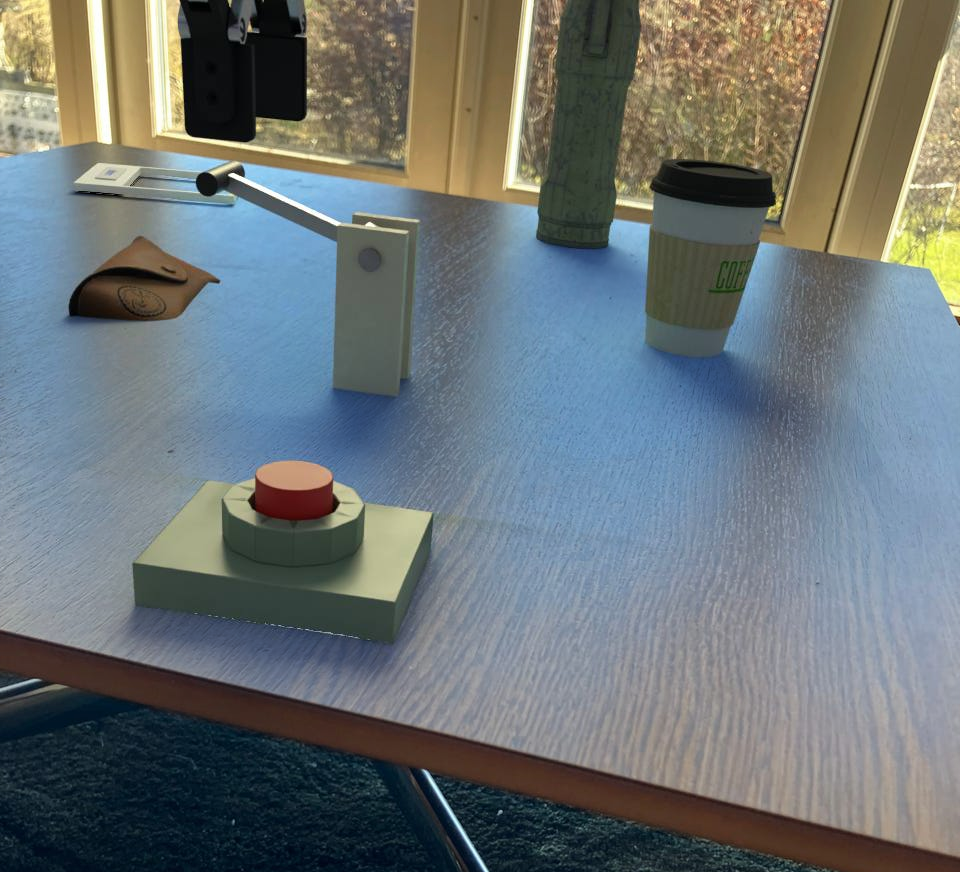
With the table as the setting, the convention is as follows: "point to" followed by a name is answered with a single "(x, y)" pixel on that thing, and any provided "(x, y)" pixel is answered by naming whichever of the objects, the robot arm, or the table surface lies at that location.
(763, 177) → the coffee cup
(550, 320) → the table surface
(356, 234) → the bracket
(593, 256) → the table surface
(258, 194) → the lever
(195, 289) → the sunglasses case
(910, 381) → the table surface
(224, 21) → the robot arm
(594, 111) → the thermos
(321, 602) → the control block
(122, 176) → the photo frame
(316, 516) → the button
